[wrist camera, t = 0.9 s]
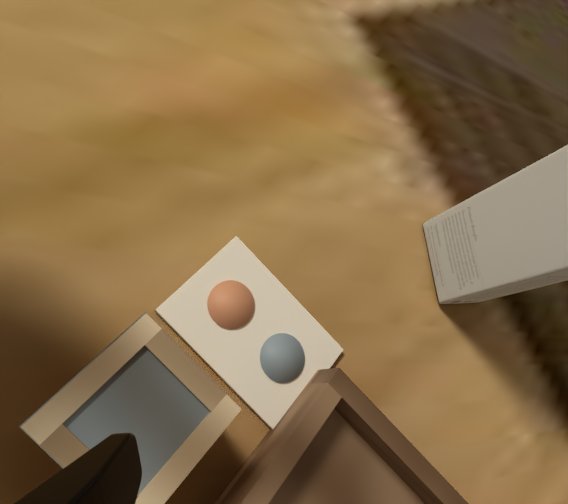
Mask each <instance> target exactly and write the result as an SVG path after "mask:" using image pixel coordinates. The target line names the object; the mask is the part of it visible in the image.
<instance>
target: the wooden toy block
mask: <svg viewBox="0 0 568 504" xmlns="http://www.w3.org/2000/svg"><path fill="white" fill-rule="evenodd" d="M240 411H241V408H240V407H239V406H238V405H237V404H236V403H235V402H234V401H233V400H232V399H231V398H230V397H229V396H228V395H227V394H226V393H225V392H224V391H223V390H222V389H221V388H220V387H219V386H218V385H217V384H216V383H215V382H214V381H213V380H212V379H211V378H210V377H209V376H208V375H207V374H206V373H205V372H204V371H203V370H202V369H201V367H200V366H199V365H198V364H197V363H196V362H195V361H194V360H193V359H192V358H191V357H190V356H189V355H188V354H187V353H186V352H185V351H184V350H183V349H182V348H181V347H180V346H179V345H178V344H177V343H176V342H175V341H174V340H173V339H172V338H171V337H170V336H169V335H168V334H167V333H166V332H165V331H164V330H163V329H162V328H161V327H160V326H159V325H158V324H157V323H156V322H155V321H154V320H153V319H152V318H151V317H150V316H149V315H148V314H147V313H146V312H145V313H144V314H143V315H142V316H141V317H140V318H138V319H137V320H136V321H135V322H134V323H133V324H132V325H131V326H130V327H128V328H127V329H126V330H125V331H124V332H123V333H122V334H121V335H120V336H119V337H117V338H116V339H115V340H114V341H113V342H112V343H111V344H110V345H109V346H107V347H106V348H105V349H104V350H103V351H102V352H101V353H100V354H99V355H98V356H96V357H95V358H94V359H93V360H92V361H91V362H90V363H89V364H88V365H86V366H85V367H84V368H83V369H82V370H81V371H80V372H79V373H78V374H76V375H75V376H74V377H73V378H72V379H71V380H70V381H69V382H68V383H67V384H65V385H64V386H63V387H62V388H61V389H60V390H59V391H58V392H57V393H55V394H54V395H53V396H52V397H51V398H50V399H49V400H48V401H47V402H46V403H44V404H43V405H42V406H41V407H40V408H39V409H38V410H37V411H36V412H34V413H33V414H32V415H31V416H30V417H29V418H28V419H27V420H26V421H25V422H23V423H22V424H21V425H20V426H19V428H20V429H22V430H23V431H24V432H25V433H26V434H27V435H28V436H29V437H30V438H31V439H32V440H33V441H34V442H35V443H36V444H37V445H38V446H39V447H40V448H42V449H43V450H44V451H45V452H46V453H47V454H48V455H49V456H50V457H51V458H52V459H53V460H54V461H55V462H56V463H57V464H58V465H59V466H61V467H62V468H63V469H64V468H65V467H66V466H68V465H69V464H71V463H72V462H73V461H75V460H76V459H78V458H79V457H80V456H82V455H83V454H85V453H86V452H87V451H89V450H90V449H92V448H93V447H94V446H96V445H97V444H98V443H100V442H101V441H103V440H104V439H105V438H107V437H108V436H110V435H111V434H115V433H133V434H134V435H135V437H136V440H137V445H138V450H139V455H140V461H141V466H142V478H141V484H140V487H139V491H138V495H137V499H136V503H135V504H165V502H166V501H167V500H168V499H169V497H170V496H171V495H172V494H173V493H174V491H175V490H176V489H177V488H178V486H179V485H180V484H181V483H182V482H183V480H184V479H185V478H186V477H187V475H188V474H189V473H190V472H191V470H192V469H193V468H194V467H195V466H196V464H197V463H198V462H199V461H200V459H201V458H202V457H203V456H204V455H205V453H206V452H207V451H208V450H209V448H210V447H211V446H212V445H213V444H214V442H215V441H216V440H217V439H218V437H219V436H220V435H221V434H222V433H223V431H224V430H225V429H226V428H227V426H228V425H229V424H230V423H231V422H232V420H233V419H234V418H235V417H236V415H237V414H238V413H239V412H240Z"/></svg>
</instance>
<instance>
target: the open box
mask: <svg viewBox="0 0 568 504" xmlns="http://www.w3.org/2000/svg"><path fill="white" fill-rule="evenodd" d="M214 504H468V503H467V502H466V501H465V500H464V499H463V497H462V496H461V495H460V494H459V493H458V492H457V491H456V490H455V489H454V488H453V487H452V486H451V485H450V484H449V483H448V482H447V481H446V480H445V479H444V477H443V476H442V475H441V474H440V473H439V472H438V471H437V470H436V469H435V468H434V467H433V466H432V465H431V464H430V463H429V462H428V461H427V460H426V459H425V457H424V456H423V455H422V454H421V453H420V452H419V451H418V450H417V449H416V448H415V447H414V446H413V445H412V444H411V443H410V442H409V441H408V440H407V439H406V437H405V436H404V435H403V434H402V433H401V432H400V431H399V430H398V429H397V428H396V427H395V426H394V425H393V424H392V423H391V422H390V421H389V420H388V419H387V417H386V416H385V415H384V414H383V413H382V412H381V411H380V410H379V409H378V408H377V407H376V406H375V405H374V404H373V403H372V402H371V401H370V400H369V399H368V397H367V396H366V395H365V394H364V393H363V392H362V391H361V390H360V389H359V388H358V387H357V386H356V385H355V384H354V383H353V382H352V381H351V380H350V379H349V377H348V376H347V375H346V374H345V373H344V372H343V371H342V370H341V369H340V368H332V369H320V370H317V372H316V373H315V374H314V376H313V377H312V378H311V380H310V381H309V382H308V384H307V385H306V386H305V388H304V389H303V390H302V392H301V393H300V394H299V396H298V397H297V398H296V400H295V401H294V402H293V404H292V405H291V406H290V407H289V409H288V410H287V411H286V413H285V414H284V415H283V417H282V418H281V419H280V421H279V422H278V423H277V425H276V426H275V427H274V429H270V431H269V432H268V433H267V435H266V436H265V437H264V439H263V440H262V441H261V442H260V444H259V445H258V446H257V448H256V449H255V450H254V452H253V453H252V454H251V456H250V457H249V458H248V460H247V461H246V462H245V464H244V465H243V466H242V468H241V469H240V470H239V472H238V473H237V474H236V476H235V477H234V478H233V479H232V481H231V482H230V483H229V485H228V486H227V487H226V489H225V490H224V491H223V493H222V494H221V495H220V497H219V498H218V499H217V501H216V502H215V503H214Z"/></svg>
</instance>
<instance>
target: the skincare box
mask: <svg viewBox="0 0 568 504" xmlns="http://www.w3.org/2000/svg"><path fill="white" fill-rule="evenodd" d="M423 228H424V233H425V238H426V243H427V247H428V252H429V257H430V262H431V267H432V272H433V277H434V281H435V286H436V291H437V296H438V300H439V303H440V304H458V303H477V302H484V301H487V300H490V299H494V298H498V297H502V296H506V295H510V294H514V293H518V292H522V291H526V290H530V289H534V288H538V287H543V286H547V285H550V284H554V283H558V282H562V281H566V280H568V145H566V146H565V147H563V148H561V149H559V150H557V151H556V152H554V153H552V154H550V155H548V156H546V157H545V158H543V159H541V160H539V161H537V162H535V163H534V164H532V165H530V166H528V167H526V168H524V169H522V170H521V171H519V172H517V173H515V174H513V175H511V176H510V177H508V178H506V179H504V180H502V181H500V182H498V183H497V184H495V185H493V186H491V187H489V188H487V189H485V190H484V191H482V192H480V193H478V194H476V195H474V196H472V197H471V198H469V199H467V200H465V201H463V202H461V203H460V204H458V205H456V206H454V207H452V208H450V209H449V210H447V211H445V212H443V213H441V214H439V215H437V216H435V217H434V218H432V219H430V220H428V221H426V222H424V223H423Z"/></svg>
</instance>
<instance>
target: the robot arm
mask: <svg viewBox="0 0 568 504" xmlns="http://www.w3.org/2000/svg"><path fill="white" fill-rule="evenodd" d="M141 478H142V466H141V461H140V455H139V450H138V445H137V440H136V437H135V435H134V434H133V433H115V434H111V435H110V436H108V437H107V438H105V439H104V440H103V441H101V442H100V443H98V444H97V445H96V446H94V447H93V448H92V449H90V450H89V451H87V452H86V453H85V454H83V455H82V456H80V457H79V458H78V459H76V460H75V461H73V462H72V463H71V464H69V465H68V466H66V467H65V468H64V469H62V470H61V471H59V472H58V473H57V474H55V475H54V476H52V477H51V478H50V479H48V480H47V481H45V482H44V483H43V484H41V485H40V486H38V487H37V488H36V489H34V490H33V491H31V492H30V493H29V494H27V495H26V496H24V497H23V498H22V499H20V500H19V501H17V502H16V503H15V504H135V503H136V499H137V495H138V491H139V487H140V484H141Z"/></svg>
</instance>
